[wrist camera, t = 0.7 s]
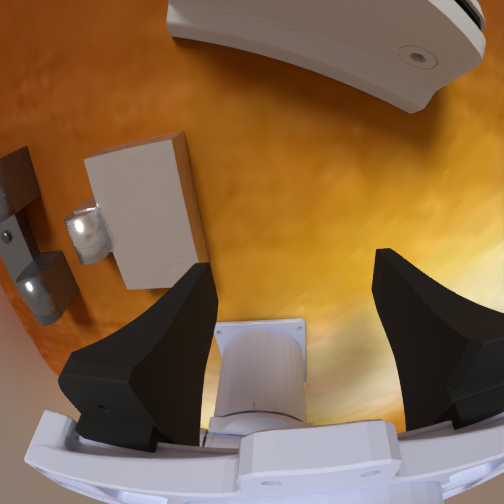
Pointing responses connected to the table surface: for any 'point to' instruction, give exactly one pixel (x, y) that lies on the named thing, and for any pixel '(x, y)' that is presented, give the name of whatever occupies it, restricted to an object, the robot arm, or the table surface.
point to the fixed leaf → (30, 244)
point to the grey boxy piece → (141, 212)
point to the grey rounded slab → (349, 39)
